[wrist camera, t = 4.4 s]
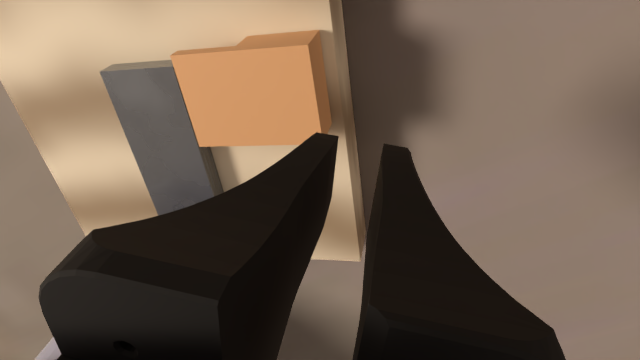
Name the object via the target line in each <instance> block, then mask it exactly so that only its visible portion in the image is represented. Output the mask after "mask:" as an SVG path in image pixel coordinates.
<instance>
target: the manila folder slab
mask: <svg viewBox="0 0 640 360" xmlns="http://www.w3.org/2000/svg"><path fill="white" fill-rule="evenodd" d="M170 57H171V60H172V64H173V67H174V70H175V73H176V76H177V79H178V82H179V85H180V88H181V91H182V94H183V98H184V101H185V104H186V107H187V110H188V113H189V116H190V119H191V122H192V125H193V128H194V132H195V135H196V138H197V141H198V144H199V147H215V146H265V145H300V144H301V143H303V142H304V141H305V140H306V139H308V138H309V137H310V136H312V135H313V134H315V133H316V132H318V133H324V134H328V131H329V129H330V127H331V124H332V120H331V112H330V105H329V98H328V90H327V83H326V76H325V68H324V61H323V54H322V46H321V39H320V32H319V30H311V31H299V32H288V33H276V34H265V35H253V36H247V37H246V38H244V39H243V40H242V41H241V42H240V43H239V44H237V45H236V46H229V47H216V48H204V49H192V50H179V51H176V52H175V53H173V54H172V55H170Z"/></svg>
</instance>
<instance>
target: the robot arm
mask: <svg viewBox="0 0 640 360" xmlns="http://www.w3.org/2000/svg"><path fill="white" fill-rule="evenodd" d="M338 138H339V136H336V135H330V134H324V133H318V132H316V133H315V134H313V135H312V136H310V137H309V138H308V139H306V140H305V141H304V142H303V143H301V144H300V145H299V146H298V147H296V148H295V149H294V150H292V151H291V152H290V153H289V154H287V155H286V156H284V157H283V158H282V159H280V160H279V161H278V162H276V163H275V164H273V165H272V166H270V167H269V168H267V169H266V170H264V171H263V172H261V173H259V174H258V175H256V176H255V177H253V178H251V179H249V180H248V181H246V182H244V183H242V184H240V185H238V186H236V187H234V188H232V189H230V190H228V191H226V192H224V193H222V194H219V195H217V196H214V197H212V198H209V199H207V200H204V201H201V202H199V203H196V204H194V205H191V206H188V207H185V208H182V209H179V210H176V211H173V212H169V213H166V214H162V215H159V216H155V217H151V218H147V219H143V220H139V221H134V222H129V223H124V224H119V225H114V226H109V227H104V228H99V229H93V230H92V231H91V232H90V233H89V234H88V235H87V236H86V237H85V238H84V239H83V240H82V241H81V242H80V243H79V244H78V245H77V246H76V247H75V248H74V249H73V250H72V251H71V252H70V253H69V254H68V255H67V256H66V257H65V258H64V260H63V261H62V262H61V263H60V264H59V265H58V266H57V267H56V268H55V269H54V270H53V271H52V272H51V273H50V274H49V275H48V276H47V277H46V279H45V280H44V281H43V283H42V284H41V285H40V291H39V301H40V305H41V308H42V312H43V315H44V317H45V319H46V321H47V324H48V326H49V328H50V330H51V332H52V335H53V338H52V339H51V340H50V341H49V343H48V344H47V345H46V346H45V347H44V349H43V350H42V351H41V352H40V353H39V355H38V356H37V357H36V358H35V359H34V360H276V359H277V356H278V352H279V349H280V345H281V342H282V338H283V335H284V332H285V328H286V325H287V321H288V318H289V315H290V311H291V308H292V304H293V302H294V299H295V296H296V293H297V291H298V288H299V286H300V283H301V281H302V279H303V276H304V274H305V271H306V269H307V267H308V264H309V262H310V259H311V257H312V254H313V252H314V250H315V247H316V245H317V242H318V240H319V237H320V235H321V233H322V230H323V228H324V224H325V221H326V217H327V213H328V210H329V206H330V202H331V198H332V191H333V182H334V173H335V164H336V155H337V146H338ZM353 360H566V359H565V356H564V354H563V351H562V349H561V347H560V344H559V342H558V339H557V337H556V334H555V332H554V330H553V328H551V327H550V326H549V325H547V324H546V323H545V322H543V321H542V320H541V319H539V318H538V317H537V316H536V315H534V314H533V313H532V312H530V311H529V310H528V309H526V308H525V307H524V306H522V305H521V304H520V303H519V302H517V301H516V300H515V299H514V298H512V297H511V296H510V295H509V294H508V293H507V292H506V291H504V290H503V289H502V288H501V287H500V286H499V285H498V284H497V283H495V282H494V281H493V280H492V279H491V278H490V277H489V276H488V275H487V274H486V273H485V272H484V271H483V270H482V269H481V268H480V267H479V266H478V265H477V264H476V263H475V262H474V261H473V260H472V258H471V257H470V256H469V255H468V254H467V253H466V252H465V251H464V250H463V249H462V247H461V246H460V245H459V244H458V243H457V241H456V240H455V239H454V237H453V236H452V235H451V233H450V232H449V230H448V229H447V228H446V226H445V225H444V223H443V222H442V220H441V218H440V217H439V215H438V213H437V212H436V210H435V208H434V207H433V205H432V203H431V201H430V199H429V198H428V196H427V194H426V192H425V189H424V187H423V185H422V183H421V181H420V179H419V176H418V174H417V171H416V169H415V166H414V163H413V160H412V157H411V152H410V151H409V150H408V148H405V147H399V146H393V145H388V144H384V146H383V151H382V156H381V161H380V167H379V172H378V178H377V183H376V189H375V194H374V200H373V205H372V211H371V216H370V222H369V227H368V232H367V241H366V254H365V266H364V280H363V293H362V305H361V313H360V321H359V327H358V332H357V338H356V344H355V349H354V355H353Z"/></svg>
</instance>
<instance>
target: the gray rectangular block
mask: <svg viewBox="0 0 640 360" xmlns="http://www.w3.org/2000/svg"><path fill="white" fill-rule="evenodd" d="M100 74H101V77H102V79H103V82H104V84H105V87H106V89H107V92H108V94H109V96H110V99H111V101H112V104H113V106H114V109H115V111H116V114H117V116H118V118H119V121H120V123H121V126H122V128H123V131H124V133H125V136H126V138H127V140H128V143H129V145H130V148H131V150H132V153H133V155H134V158H135V160H136V162H137V165H138V167H139V170H140V172H141V175H142V177H143V180H144V182H145V184H146V187H147V189H148V192H149V194H150V197H151V199H152V202H153V204H154V206H155V209H156V211H157V214H158V216H159V215H162V214H166V213H169V212H173V211H176V210H179V209H182V208H185V207H188V206H191V205H194V204H196V203H199V202H201V201H204V200H207V199H209V198H212V197H214V196H217V195H219V194H222V193H224V191H223V188H222V184H221V181H220V178H219V174H218V171H217V168H216V164H215V161H214V158H213V154H212V151H211V148H210V147H199V144H198V141H197V138H196V135H195V132H194V128H193V125H192V122H191V119H190V116H189V113H188V110H187V107H186V104H185V101H184V98H183V94H182V91H181V88H180V85H179V82H178V79H177V76H176V73H175V70H174V67H173V64H172V60H162V61H149V62H135V63H122V64H112V65H110V66H109V67H107V68H105V69H103V70H101V71H100Z"/></svg>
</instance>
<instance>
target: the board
mask: <svg viewBox="0 0 640 360" xmlns="http://www.w3.org/2000/svg"><path fill="white" fill-rule="evenodd" d="M311 30H319V32H320V39H321V46H322V54H323V61H324V68H325V76H326V83H327V90H328V98H329V105H330V112H331V120H332V124H331V127H330V129H329V131H328V134H330V135H336V136H339V138H338V146H337V155H336V164H335V173H334V182H333V191H332V198H331V202H330V206H329V210H328V213H327V217H326V221H325V224H324V228H323V230H322V233H321V235H320V237H319V240H318V242H317V245H316V247H315V250H314V252H313V254H312V257H311V259H320V260H341V261H361V256H362V251H363V246H364V240H365V235H366V227H365V217H364V208H363V199H362V189H361V180H360V170H359V161H358V151H357V142H356V133H355V123H354V114H353V104H352V95H351V86H350V76H349V67H348V57H347V48H346V38H345V29H344V20H343V10H342V1H341V0H0V80H1V82H2V84H3V86H4V88H5V90H6V91H7V93H8V95H9V97H10V99H11V101H12V102H13V104H14V106H15V108H16V110H17V111H18V113H19V115H20V117H21V119H22V121H23V122H24V124H25V126H26V128H27V130H28V132H29V133H30V135H31V137H32V139H33V141H34V142H35V144H36V146H37V148H38V150H39V152H40V153H41V155H42V157H43V159H44V161H45V163H46V164H47V166H48V168H49V170H50V172H51V173H52V175H53V177H54V179H55V181H56V183H57V184H58V186H59V188H60V190H61V192H62V194H63V195H64V197H65V199H66V201H67V203H68V204H69V206H70V208H71V210H72V212H73V214H74V215H75V217H76V219H77V221H78V223H79V225H80V226H81V228H82V230H83V232H84V234H85V235H86V236H87V235H88V234H89V233H90V232H91V231H92V230H93V229H99V228H104V227H109V226H114V225H119V224H124V223H129V222H134V221H139V220H143V219H147V218H151V217H155V216H158V214H157V211H156V209H155V206H154V204H153V202H152V199H151V197H150V194H149V192H148V189H147V187H146V184H145V182H144V180H143V177H142V175H141V172H140V170H139V167H138V165H137V162H136V160H135V158H134V155H133V153H132V150H131V148H130V145H129V143H128V140H127V138H126V136H125V133H124V131H123V128H122V126H121V123H120V121H119V118H118V116H117V114H116V111H115V109H114V106H113V104H112V101H111V99H110V96H109V94H108V92H107V89H106V87H105V84H104V82H103V79H102V77H101V74H100V71H101V70H103V69H105V68H107V67H109V66H110V65H112V64H122V63H135V62H149V61H162V60H171V57H170V55H172V54H173V53H175V52H176V51H179V50H192V49H204V48H216V47H229V46H236V45H237V44H239V43H240V42H241V41H242V40H243V39H244V38H246V37H247V36H253V35H265V34H276V33H288V32H299V31H311ZM298 146H299V145H265V146H215V147H210V148H211V151H212V154H213V158H214V161H215V164H216V168H217V171H218V174H219V178H220V181H221V184H222V188H223V191H224V192H226V191H228V190H230V189H232V188H234V187H236V186H238V185H240V184H242V183H244V182H246V181H248V180H249V179H251V178H253V177H255V176H256V175H258V174H259V173H261V172H263V171H264V170H266V169H267V168H269V167H270V166H272V165H273V164H275V163H276V162H278V161H279V160H280V159H282V158H283V157H284V156H286V155H287V154H289V153H290V152H291V151H292V150H294V149H295V148H296V147H298Z"/></svg>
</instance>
